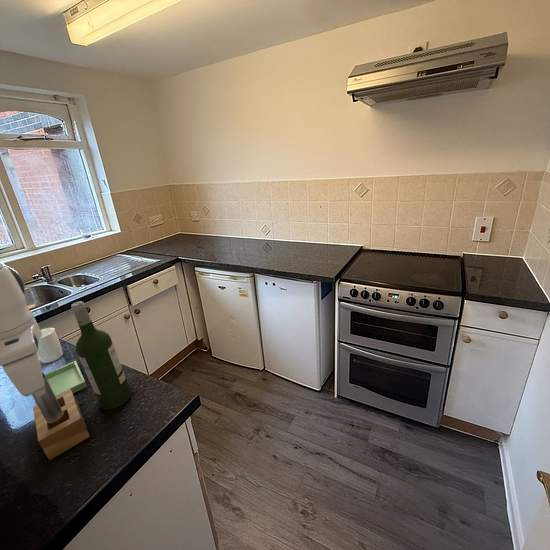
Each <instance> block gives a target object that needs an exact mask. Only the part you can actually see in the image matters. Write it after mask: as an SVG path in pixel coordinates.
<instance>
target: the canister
mask: <svg viewBox="0 0 550 550" xmlns="http://www.w3.org/2000/svg"><path fill="white" fill-rule="evenodd" d="M42 374H43V378H44V382H45V390H46V393H45V394H43V395H41V396H39V397H36V395H35V394H34V393H33V394H31V396H32V397H33V399H34V402H35V403H36V405H38V407H39V409H40V410H41V412H42V414H43V416H44V418H45V420H46V422H47V423H53V422H56V421H57V420H59V419H60V418H61V417H62V416H63V414H64V413H63V411H62V409H61V407H60V405H59V403H58V401H57V399H56V397H55V395H54V393H53V391H52V389H51V387H50V385H49V382H48V380H47V378H46V376H45V374H46V373H44V371H42Z"/></svg>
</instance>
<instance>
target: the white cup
mask: <svg viewBox="0 0 550 550" xmlns="http://www.w3.org/2000/svg"><path fill="white" fill-rule="evenodd" d="M40 330H41V332H42V335H41V337H40V339H39V343H38V351H37V353H38V357H39V361H40V363H42V364H49V363H52V362H55V361H56V360H58V359H60V358H61V357H62V356H63V355H64V352H63V351H64V350H63V349H62V344H61V342H60V340H59V336H58V334H57V331H56V330H55V328H54V327H46V328H42V329H40Z"/></svg>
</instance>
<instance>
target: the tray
mask: <svg viewBox="0 0 550 550" xmlns="http://www.w3.org/2000/svg"><path fill="white" fill-rule="evenodd" d="M44 374H45V376H46V378H47V380H48V382H49V385H50V387H51V389H52V391H53V393H54V395H55V396H56V395H58V394H61V393H63V392H65V391H67V390H69V389H71V391H72V393H73V394H75V393H77V392H79V391H82V390H83V389H85V388H88V384H87V383H86V380H85V378H84V376H83V374H82V372H81V369H80V366H79V365H78V363H77V360H74V361H72V362H70V363H67V364H64V365H63V366H61V367H59V368H56V369H53V370H52V371H49V372H47V373H44Z"/></svg>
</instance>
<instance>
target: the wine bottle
mask: <svg viewBox="0 0 550 550" xmlns="http://www.w3.org/2000/svg"><path fill="white" fill-rule="evenodd" d="M70 309H71V310H72V312H73V314H74V317H75V320H76V322H77V325H78V327H79V330H80V336H79V338H78V339H77V341H76V342H75V343H76V344H75V352H76V354H77V357H78V358H79V360H80V363H81V365H82V367H83V369H84V372H85V374H86V376H87V378H88V381H89V383H90V385H91V388H92V390H93V392H94V394H95V397H96V398H97V401H98V404H99V406H100V407H101V408H102V409H103V410H113V409H114V410H115V409H117V408H119V407H121V406H122V405H124V404H125V403H127V402H128V400H129V399H130V398H131V395H132V389H131V387H130V384H129V381H128V379H127V377H126V374H125V371H124V368H123V366H122V364H121V361H120V358H119V355H118V353H117V350H116V348H115V345H114V343H113V340H112V338H111V335H110V334H109V333H107V332H106V331H104V330H101V329H97V328H96V326H95V325H94V323H93V321H92V319H91V316H90V315H89V312H88V310H87V307H86V304H85V302H84V301H82V300H80V301H76V302H73V303H72V304H71V308H70Z"/></svg>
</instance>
